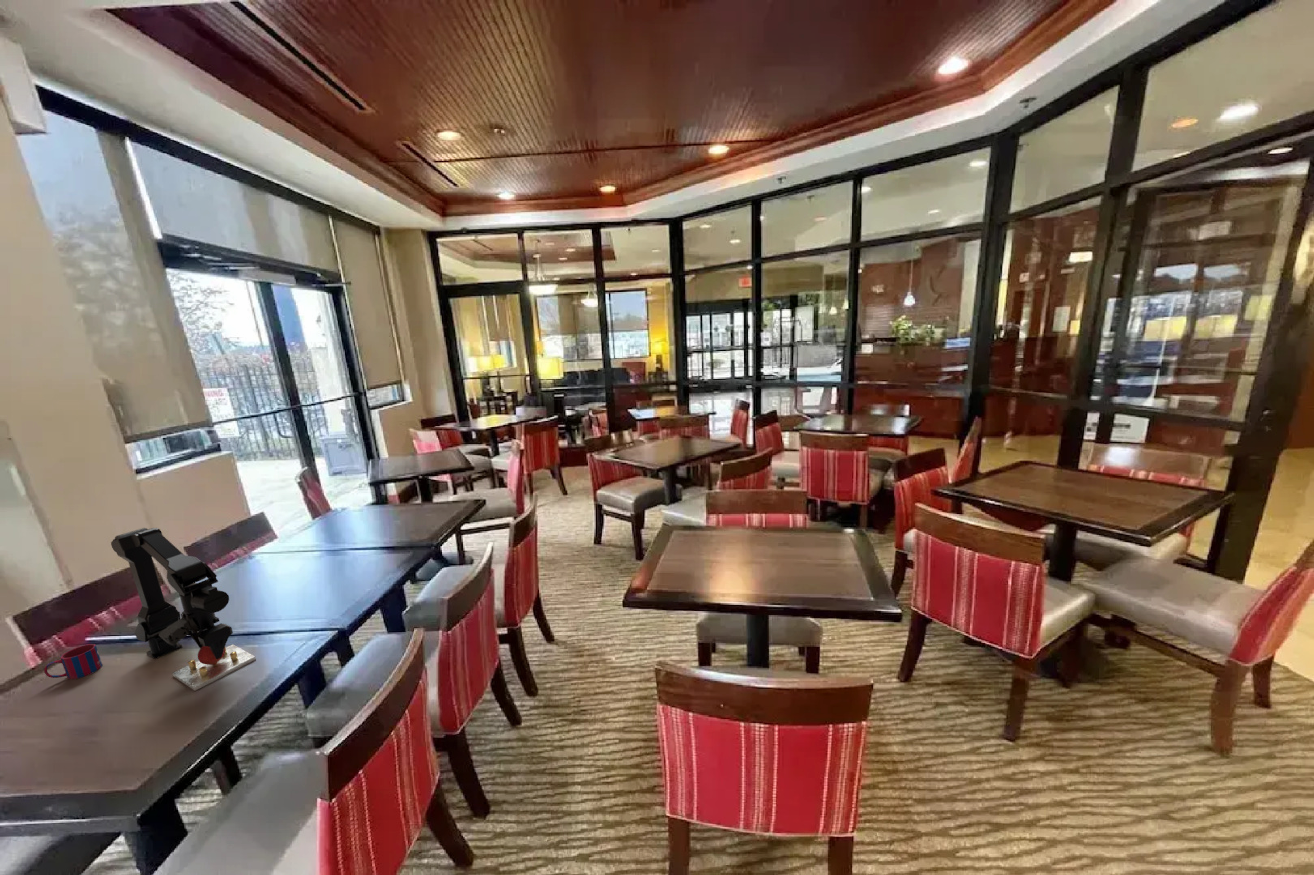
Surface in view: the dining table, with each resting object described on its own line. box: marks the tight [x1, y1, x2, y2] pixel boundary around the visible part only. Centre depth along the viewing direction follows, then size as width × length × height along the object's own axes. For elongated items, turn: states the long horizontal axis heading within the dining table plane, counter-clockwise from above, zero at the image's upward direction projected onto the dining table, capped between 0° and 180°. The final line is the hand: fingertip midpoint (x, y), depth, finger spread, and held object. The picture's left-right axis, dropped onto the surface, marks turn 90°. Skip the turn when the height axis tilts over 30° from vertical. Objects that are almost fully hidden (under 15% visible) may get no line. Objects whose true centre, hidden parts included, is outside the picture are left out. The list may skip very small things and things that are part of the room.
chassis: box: [172, 644, 257, 692], centre depth 138 cm, size 14×14×4 cm
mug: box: [43, 643, 103, 680], centre depth 138 cm, size 7×10×7 cm
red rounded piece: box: [197, 646, 225, 665], centre depth 138 cm, size 6×6×8 cm
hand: (211, 654), depth 138 cm, fingers open, 9 cm apart
